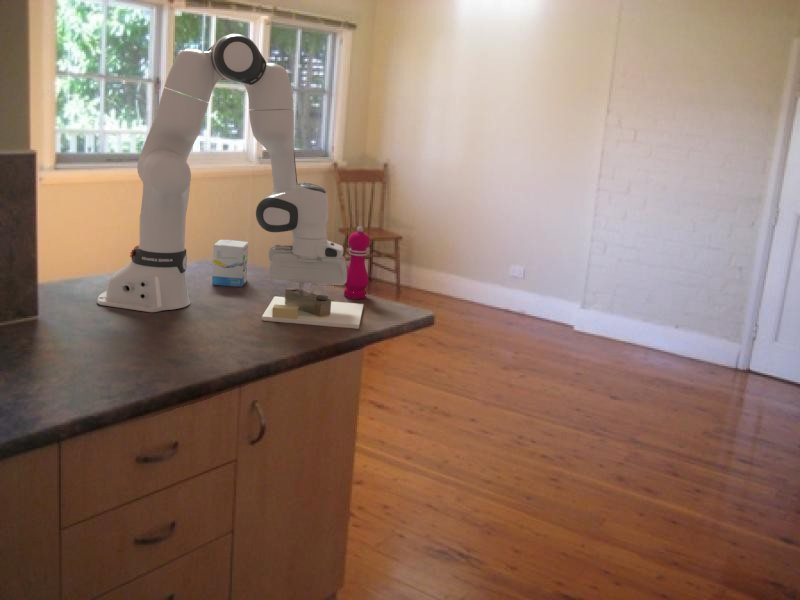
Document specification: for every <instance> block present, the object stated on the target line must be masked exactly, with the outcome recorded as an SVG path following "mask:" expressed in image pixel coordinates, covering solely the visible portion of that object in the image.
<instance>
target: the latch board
mask: <svg viewBox="0 0 800 600" xmlns="http://www.w3.org/2000/svg"><path fill="white" fill-rule="evenodd" d="M298 308H299V306H288V305H286V304H285V296H276V295H275V296H273V298H272V300H271V301H270V303H269V305H268V306H267V308H266V309H265V311H264V313H263V314H262V316H261V321H264V322H265V321H266V322H277V323H278V322H279V323H289V324H299V325H301V324H302V325H309V326H310V325H312V326H323V327H335V328H343V329H344V328H346V329H357V330H359V329H360V326H361V325H360V324H361V319H362V315H363V312H364V303H355V302H343V301H342V302H341V301H332V300H331V311H330V314H329V315H324V316H317V315H315V314H312V313H309V312H306V311H303V310H300V309H298Z"/></svg>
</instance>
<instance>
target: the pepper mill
mask: <svg viewBox="0 0 800 600" xmlns="http://www.w3.org/2000/svg"><path fill="white" fill-rule="evenodd" d="M363 231H364V227H363V226H357V227H356V231H354V232H352V233H351V234H350V235H349V237H348V245H349V247H350V248H349V251H348V252H349V255H350V259H349V260H350V261H349V266H347V282H346V283H345V284H344V285H343V286H345V288H344V290H343V296H344V297H345V298H347V299H353V300H362V299H365V298H366V297H367V290H366V288H367V287H369V284H370V283H369V282H370V280H369V279H370V278H369V274H368V271H367V269H366V262H365V261H366V256H367V255H368V248H369V246H370V243H371V240H370V236H369V235H368V234H367V233H366V232H363ZM353 292H354V293H353ZM365 295H366V296H365Z"/></svg>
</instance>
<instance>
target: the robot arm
mask: <svg viewBox="0 0 800 600" xmlns="http://www.w3.org/2000/svg"><path fill="white" fill-rule="evenodd" d="M221 80H223V81H225V80H226V81H231V82H239V83H241V84H242V85H243V86H244V87H245V89H246V93H247V97H248V110H249V111H248V112H249V113H248V115H249V116H248V117H249V123H250V128H251V131H252V136H253V138H254V139H255V140H256V141H257V142H258V143H259V144H260V145H262V146H263V148H264V149H265V150H266V151H267V153H268V155H269V158H270V166H271V174H272V176H271V177H272V182H273V183H272V184H273V187H272V188H273V189H272V193H271V194H270V195H268V196H267V197H264V198H263V199H261V201H259V203H258V204H257V205H256V209H255V217H256V221H257V224H258V225H259V226H260V227H261V228H262V229H263V230H264V231H267V232H270V233H283V232H284V233H285V232H292V241H291V242H292V245H279V244H275V245H273V246H271V247H270V248H269V250H268V259H269V261H270V263H269V264H270V265H269V271H268V278H269V279H270V281H275V282H287V283H288V282H289V283H290V282H291V283H298V288H299V290H303V291H306V289H305V287H304V286H305V284H311V285H310V287H311V290H310V291H306V292H309V293H312V294H314V292H315V290H316V289H317V287H318V284H319V285H331V286H332V285H333V286H335V285H336V286H345V285H344V284H345V283H346V282H347V269H348V266H347V260H346V258H345V257H344V251H345V250H344V247H343V245H341V244H339V243H336V242H333V241H330V240H328V234H327V233H328V232H327V223H328V221H329V200H328V199H329V198H328V193H327V192H326V190H325V188H323V187H322V186H319V185H317V184H314V183H307V182H299V183H298V174H297V166H296V155H295V148H294V147H295V144H294V143H295V138H294V137H295V134H294V133H295V132H294V131H295V113H294V112H295V109H294V98H293V92H292V85H291V81H290V76H289V74H288V71H287V70H286V68H285V67H283V66H282V65H280V64H278V63H273V62H267V60H265V58H264V56H263V55H262V53H261V51H260V49H259V47H258V46H257V45H256V43H255V42H254V41H253V40H252V39H251V38H249V37H248V36H246V35H243V34H240V33H229V34H225V35H223V36H221V37H220V38H219V39H218V40H217V41H216V42H215V43H214V44H213V45H211V47H209V49H207V50H205V51H203V50H201V49H197V48H186V49H183V50H181V51H179V53H178V54H177V55H176V56H175V59H174V61H173V63H172V66H171V68H170V70H169V72H168V75H167V78H166V80H165V83H164V85H163V86H164V87H163V90H162V93H161V96H160V99H159V103H158V106H157V110H156V113H155V116H154V119H153V122H152V124H151V127H150V129H149V132H148V134H147V136H146V138H145V142H144V144H143V147H142V149H141V153H140V155H139V158H138V161H137V167H136V169H137V174H138V178H140V180H141V182H142V198H141V209H140V214H139V237H138V238H139V244H137V245H136V246H134V247H133V249H132V250H131V252H129V254H130V255H129V257H130V258H131V259H130V260H131V261H130V262H128V263H127V264H126V265H125V266H123V267H122V268H120V269H119V270H117V271H116V272H114V273H113V274H112V275H111V276H110V278H109V280H108V283H107V287H106V290H105V291H104V292H102V293H100V294H99V295H98V296H97V304H98V305H100V306H105V307H106V306H107V307H113V308H119V309H125V310H133V311H139V312H140V311H141V312H147V313H157V312H161V311H168V310H171V311H172V310H176V309H177V310H178V309H182V308H185V307H188V306H189V305H190V304H191V301H190V298H189V293H188V288H187V280H186V270H187V266H188V265H187V264H188V256H187V249H186V248H185V247H186V221H187V220H186V219H187V218H186V217H187V212H188V207H189V206H188V205H189V199H190V189H191V181H192V173H191V168H190V165H189V163H188V162H187V161H188V158H189V155H190V154H191V151H192V148H193V146H194V144H195V142H196V140H197V138H198V136H199V135H200V133H201V130H202V126H203V123H204V120H205V116H206V113H207V110H208V107H209V104H210V103H209V102H210V100H211V96H212V93H213V90H214V88H215V86H216V84H217V83H218V82H219V81H221Z"/></svg>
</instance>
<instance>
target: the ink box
mask: <svg viewBox="0 0 800 600" xmlns="http://www.w3.org/2000/svg"><path fill="white" fill-rule="evenodd" d="M212 257H213V258H212V259H213V260H212V277H211V283H212V284H211V285H213V286H214V285H215V286H225V287H237V288H242V287H243V286H244V285H245V283H246V282H247V280H248V279H247V278H248V262H249V261H248V260H249V241H243V240H233V239H218V241H216V242H215V243H214V244H213V253H212Z"/></svg>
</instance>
